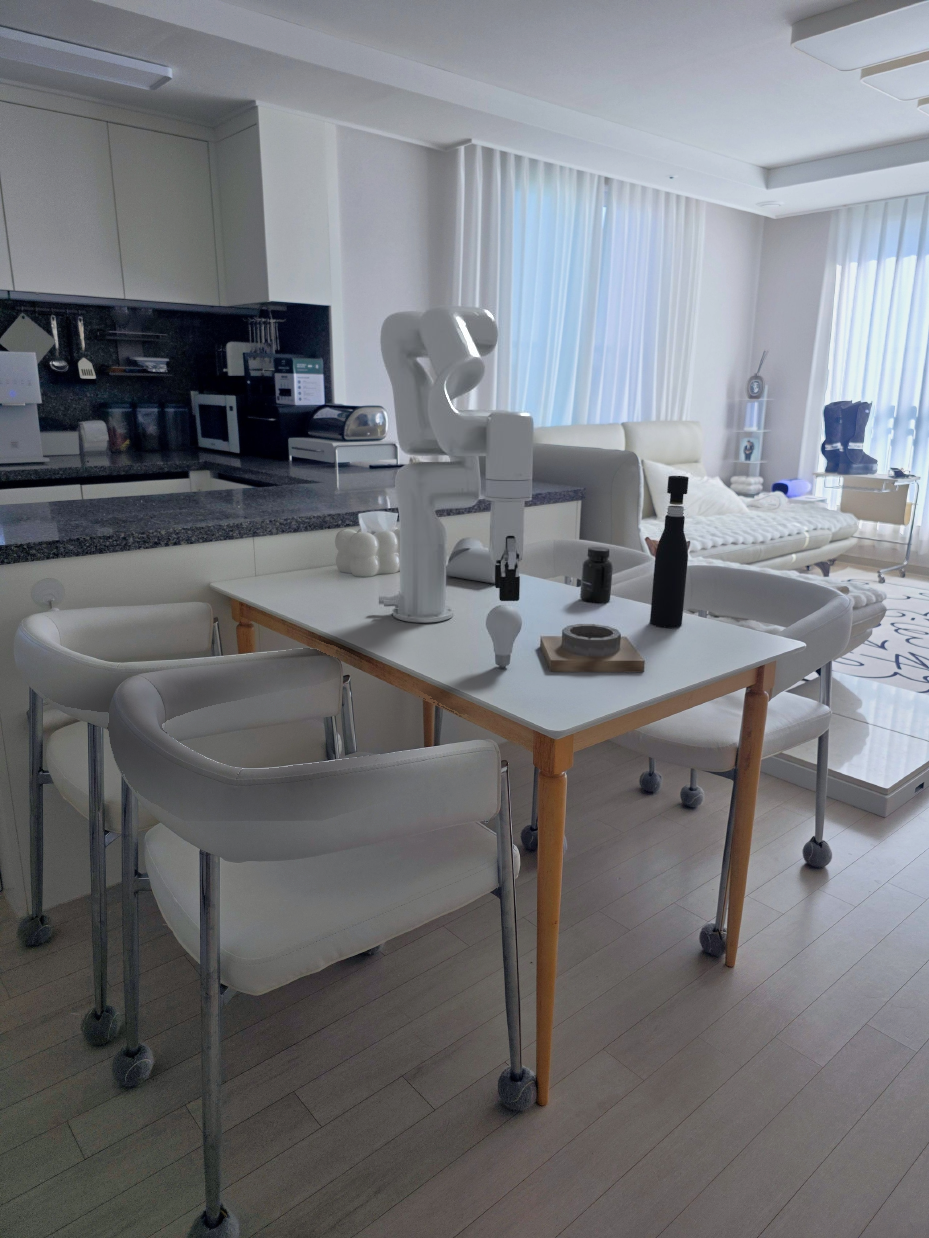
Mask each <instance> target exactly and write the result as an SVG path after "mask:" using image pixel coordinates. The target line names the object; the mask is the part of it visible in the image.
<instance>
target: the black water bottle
mask: <svg viewBox="0 0 929 1238" xmlns="http://www.w3.org/2000/svg"><path fill="white" fill-rule="evenodd" d="M667 479H668V480H667V490H666V493H667V494H670V497H669V502H668V503H669V504H670V505H668V506H667V509H666V510H667V511H666V513H667V514H665V517H664V526H663V527H664V529H663V531H662V533H661V536H660V538H659V540H658V542H657V543H658V544H657V547H656V549H655V550H656V551H655V555H654V567H653V568H654V569H653V579H652V580H653V581H652V590H651V591H652V592H651V604H650V616H649V617H650V618H649V623H650V624H651V625H653V626H655V627H658V628H665V629H674V628H679V627H681V626H682V625H683V616H684V604H685V592H686V583H687V582H686V581H687V573H688V572H687V571H688V562H689V549H688V543H687V539H686V537H687V536H686V534H685V520H686V519H685V518H686V517H685V515H684V514H685V513H684V511H685V509H684V508H685V507H684V506H683V504H684V495H687V494H688V491H689V489H688V487H689V480H690V479H689V477H688V476H686V475H685V476H683V475H668V478H667Z"/></svg>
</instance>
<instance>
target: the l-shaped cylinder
mask: <svg viewBox="0 0 929 1238" xmlns="http://www.w3.org/2000/svg"><path fill="white" fill-rule="evenodd" d="M447 561H448V562H447V564H446V576H448V577H450V578H451V577H452V578H458V579H465V580H470V581H474V582H475V581H476V582H480V583H487V584H494V585H495V565H499V564H496V563H494V562H493V561H492V560H491V558H490V555H489V548H488V547H484V545H483V543H482V542H481V541H480V540H479V539H477V538H474V537H463V538H461V539H459V540H458V541H457V542H456V544H455V545H454V547H453V549H452V551H451V553H450V555H449V557H448V559H447Z"/></svg>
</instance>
